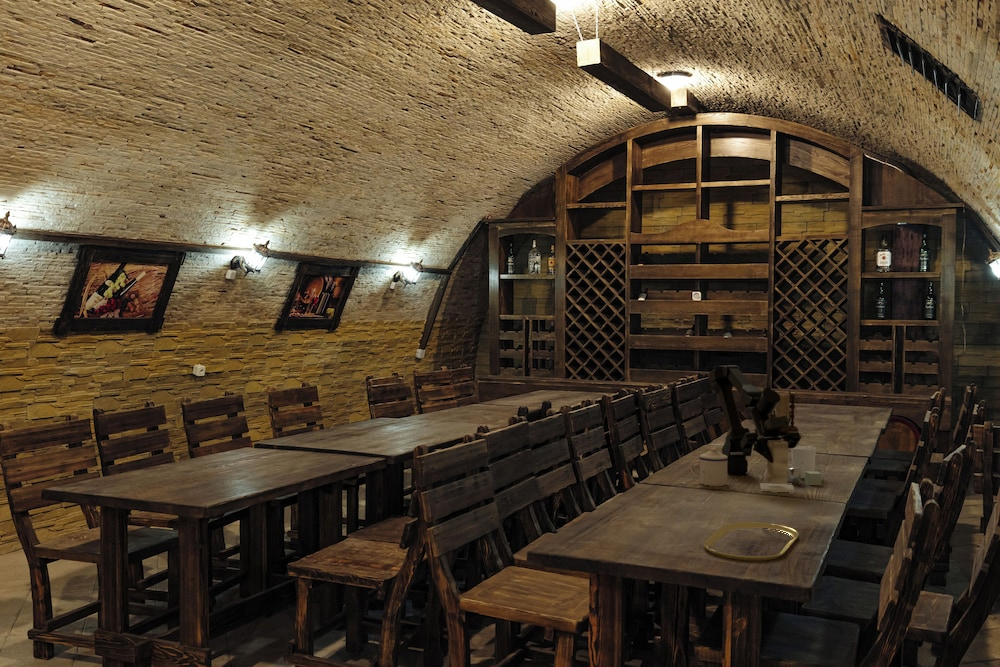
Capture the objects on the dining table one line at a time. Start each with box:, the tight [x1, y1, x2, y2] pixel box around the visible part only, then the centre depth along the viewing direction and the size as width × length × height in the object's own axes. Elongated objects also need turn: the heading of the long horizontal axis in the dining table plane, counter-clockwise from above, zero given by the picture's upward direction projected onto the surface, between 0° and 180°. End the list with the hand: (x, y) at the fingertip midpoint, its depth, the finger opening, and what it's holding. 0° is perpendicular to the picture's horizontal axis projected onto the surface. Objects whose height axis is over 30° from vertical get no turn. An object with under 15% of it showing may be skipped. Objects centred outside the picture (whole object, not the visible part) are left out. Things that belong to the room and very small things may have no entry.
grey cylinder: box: [786, 466, 802, 485], centre depth 299 cm, size 4×4×5 cm
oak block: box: [766, 440, 789, 484], centre depth 288 cm, size 4×4×13 cm
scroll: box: [770, 389, 799, 434], centre depth 416 cm, size 15×15×20 cm
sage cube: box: [804, 470, 823, 486], centre depth 297 cm, size 4×4×4 cm
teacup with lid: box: [690, 447, 728, 487], centre depth 297 cm, size 12×9×12 cm
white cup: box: [790, 445, 817, 479], centre depth 310 cm, size 8×8×10 cm
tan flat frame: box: [703, 521, 800, 562], centre depth 223 cm, size 19×35×2 cm, turn 152°
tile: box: [759, 482, 796, 494], centre depth 288 cm, size 10×9×1 cm
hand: (779, 462), depth 287 cm, fingers closed on oak block, 4 cm apart
